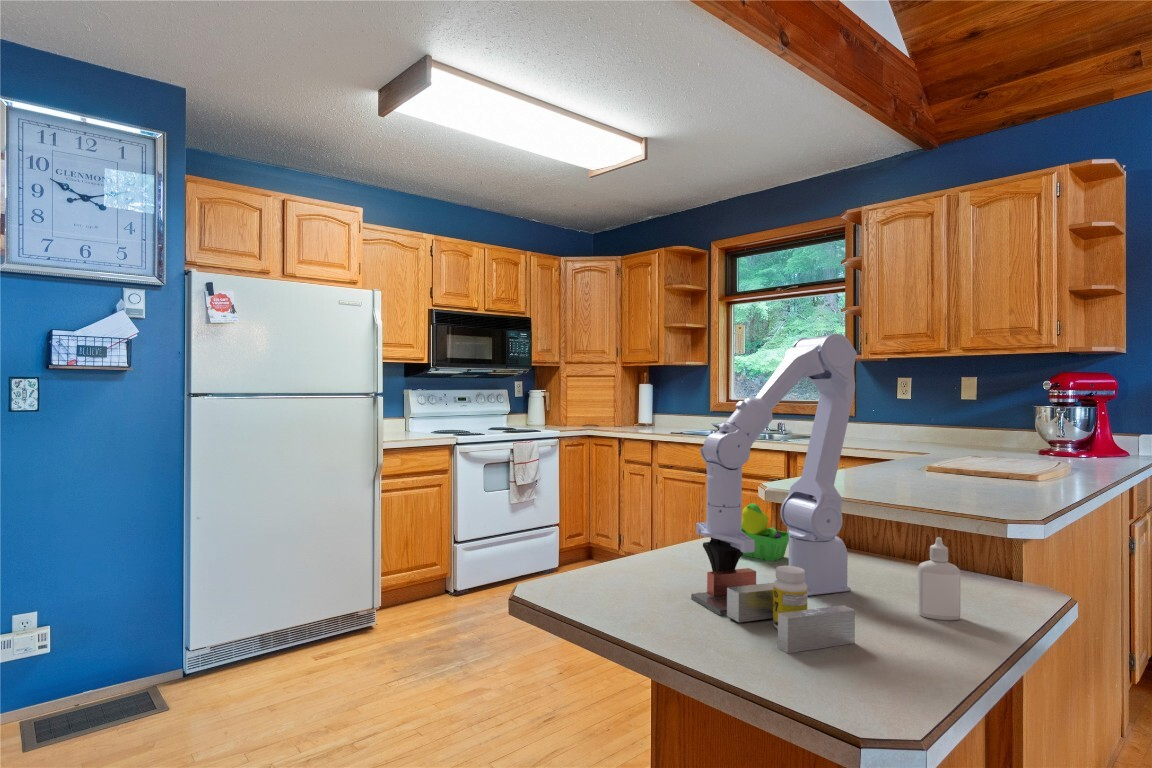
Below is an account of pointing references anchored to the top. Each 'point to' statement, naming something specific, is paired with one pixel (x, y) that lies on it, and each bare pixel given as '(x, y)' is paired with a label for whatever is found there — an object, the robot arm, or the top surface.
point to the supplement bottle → (789, 591)
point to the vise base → (712, 602)
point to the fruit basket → (763, 535)
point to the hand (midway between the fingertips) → (723, 586)
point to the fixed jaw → (816, 628)
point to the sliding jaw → (742, 594)
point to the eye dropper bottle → (938, 585)
